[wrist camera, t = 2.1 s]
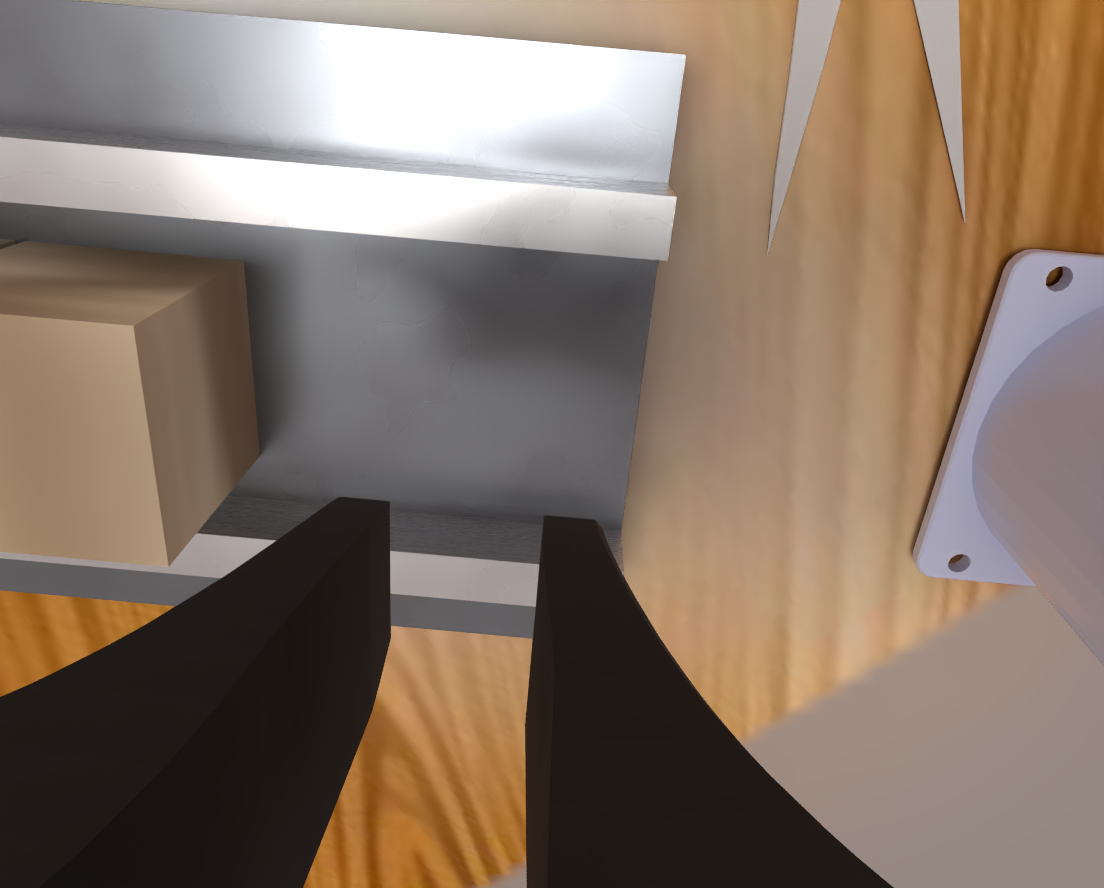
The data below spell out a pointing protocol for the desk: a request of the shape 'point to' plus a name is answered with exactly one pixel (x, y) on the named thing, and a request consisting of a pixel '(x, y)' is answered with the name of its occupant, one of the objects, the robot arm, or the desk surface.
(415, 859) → the desk surface
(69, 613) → the desk surface
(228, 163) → the slot board
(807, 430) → the desk surface
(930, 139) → the desk surface
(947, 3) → the scissors
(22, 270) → the block
